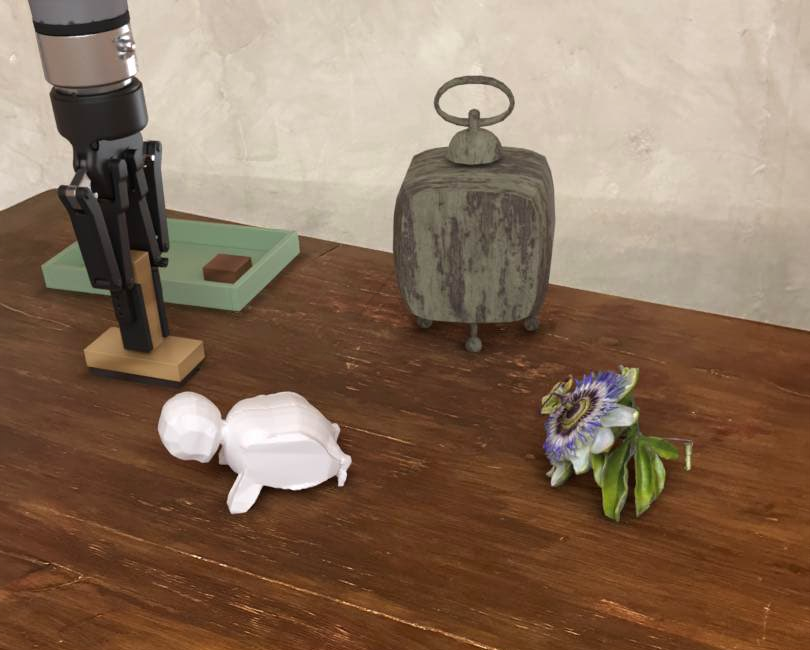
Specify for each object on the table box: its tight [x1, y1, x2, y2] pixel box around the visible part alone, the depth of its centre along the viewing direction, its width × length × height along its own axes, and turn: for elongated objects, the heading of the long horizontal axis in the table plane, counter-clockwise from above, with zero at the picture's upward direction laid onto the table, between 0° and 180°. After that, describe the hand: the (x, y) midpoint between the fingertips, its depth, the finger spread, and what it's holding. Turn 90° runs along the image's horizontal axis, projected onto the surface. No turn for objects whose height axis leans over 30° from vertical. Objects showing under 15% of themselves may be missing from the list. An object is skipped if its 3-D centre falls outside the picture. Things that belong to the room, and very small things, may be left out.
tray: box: [40, 217, 301, 312], centre depth 125 cm, size 24×16×3 cm, turn 71°
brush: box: [83, 250, 206, 390], centre depth 104 cm, size 10×5×12 cm, turn 71°
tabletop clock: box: [392, 75, 556, 354], centre depth 103 cm, size 14×9×25 cm, turn 82°
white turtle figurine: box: [157, 391, 352, 515], centre depth 90 cm, size 8×8×15 cm
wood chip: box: [202, 254, 252, 284], centre depth 123 cm, size 4×4×2 cm
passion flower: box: [536, 364, 695, 523], centre depth 88 cm, size 11×11×12 cm
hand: (147, 341), depth 106 cm, fingers closed on brush, 2 cm apart
